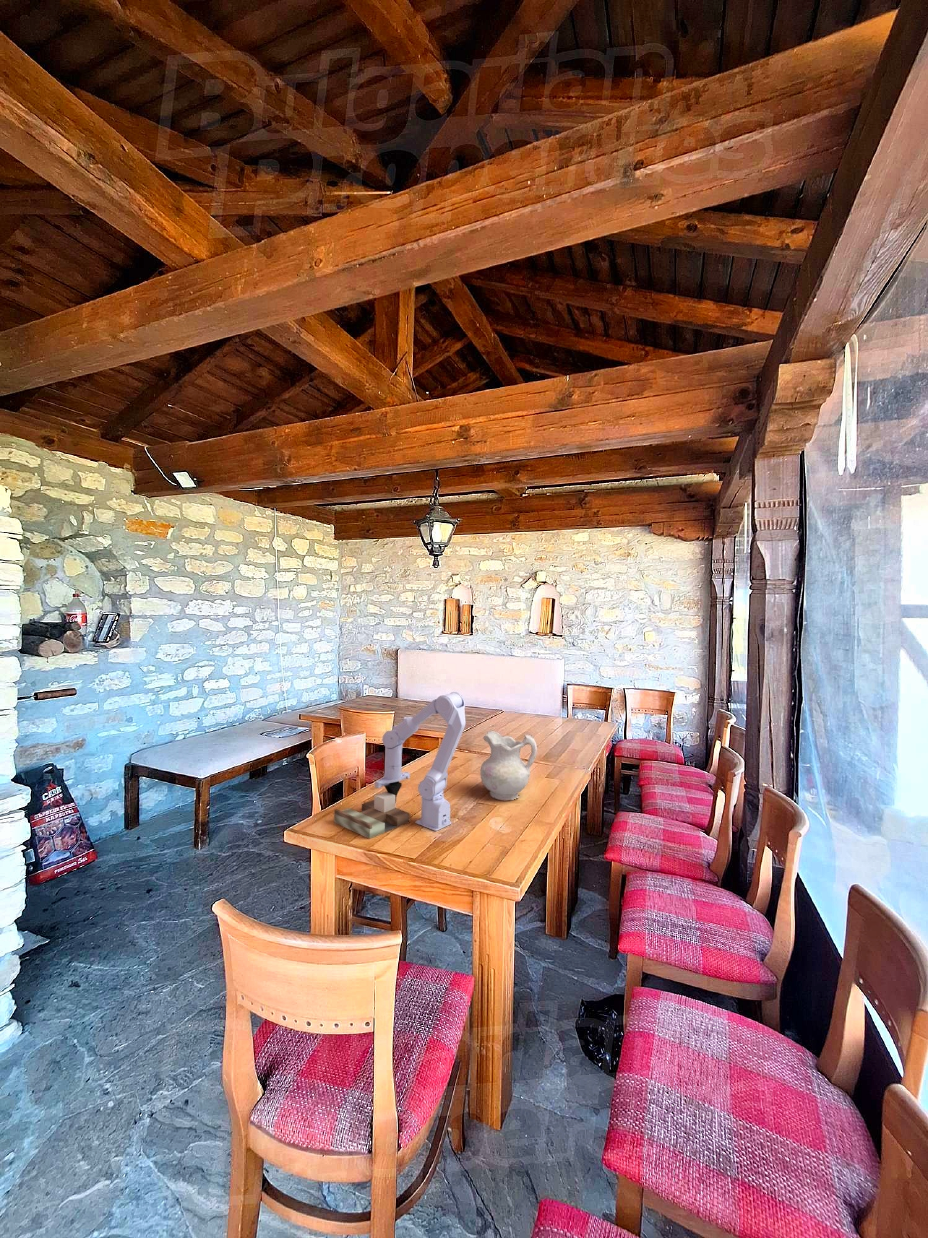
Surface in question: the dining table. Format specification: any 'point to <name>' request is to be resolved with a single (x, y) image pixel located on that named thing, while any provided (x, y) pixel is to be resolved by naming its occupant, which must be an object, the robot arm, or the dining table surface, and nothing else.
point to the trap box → (371, 820)
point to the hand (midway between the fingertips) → (392, 803)
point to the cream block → (384, 802)
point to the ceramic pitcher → (506, 766)
